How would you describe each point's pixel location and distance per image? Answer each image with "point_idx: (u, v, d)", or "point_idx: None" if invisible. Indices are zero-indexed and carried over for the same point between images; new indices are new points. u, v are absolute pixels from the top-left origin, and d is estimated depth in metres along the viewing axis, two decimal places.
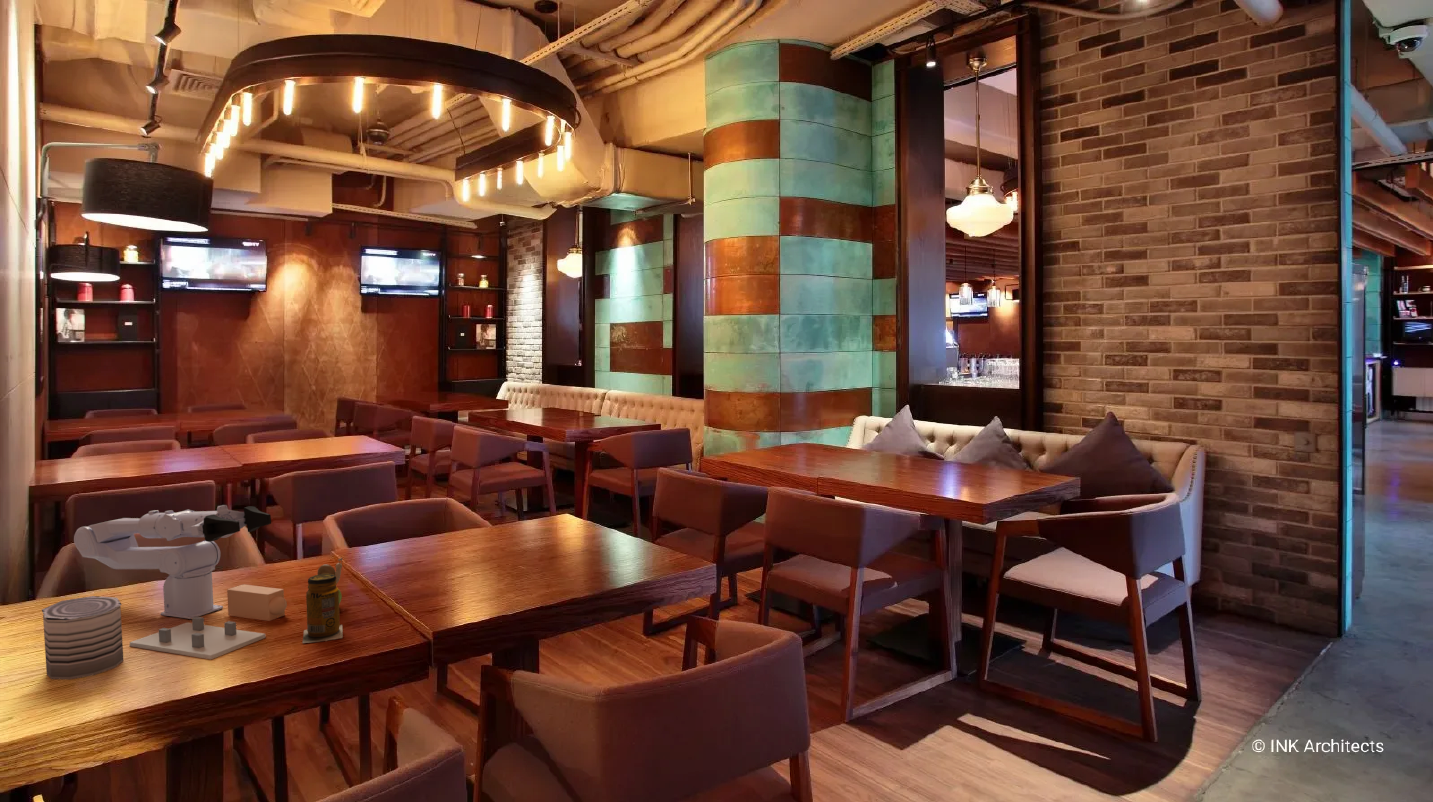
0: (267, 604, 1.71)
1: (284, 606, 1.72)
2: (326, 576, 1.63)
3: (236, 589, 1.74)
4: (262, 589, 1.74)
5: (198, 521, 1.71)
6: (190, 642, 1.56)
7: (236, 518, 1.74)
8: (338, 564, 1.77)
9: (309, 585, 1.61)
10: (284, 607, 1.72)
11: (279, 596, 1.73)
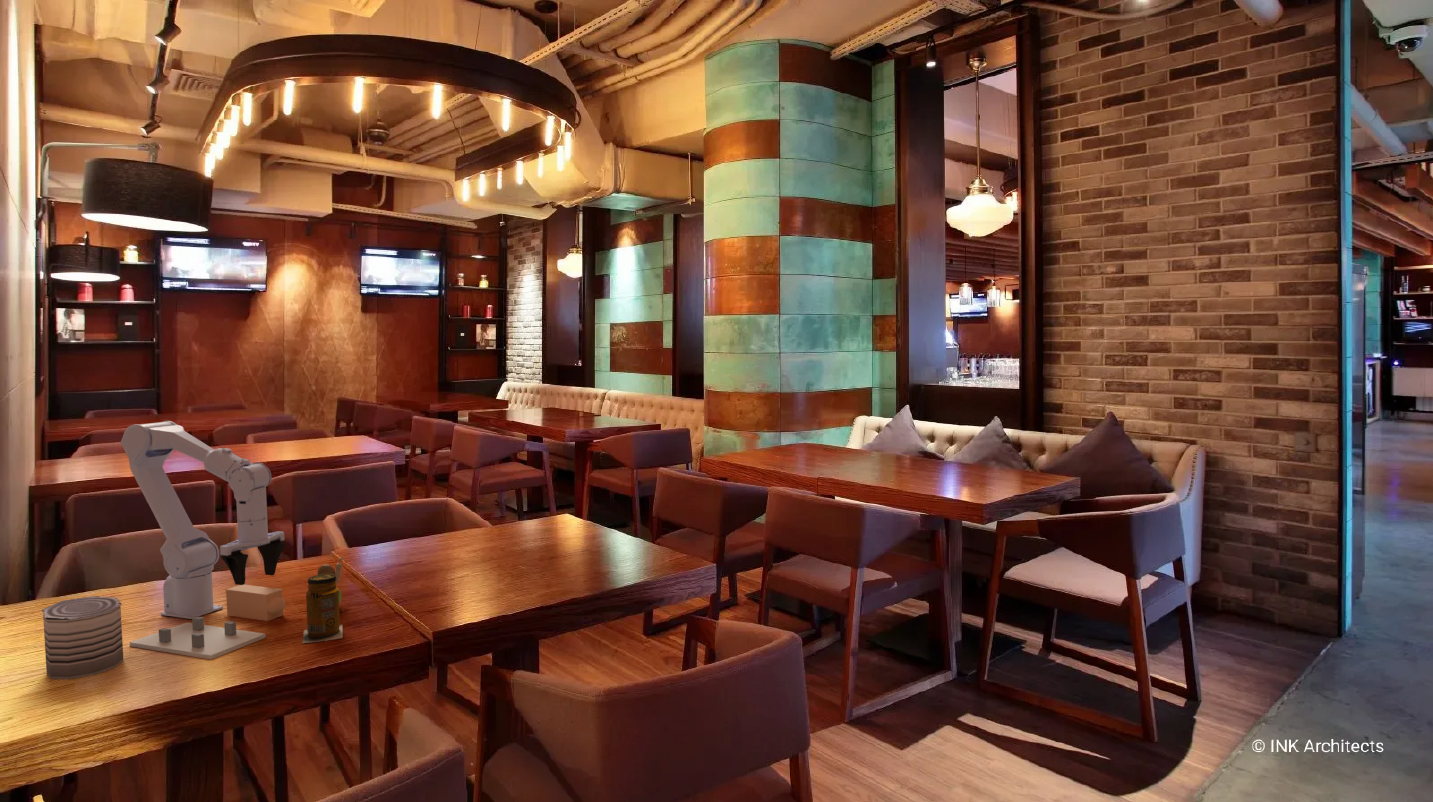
0: (265, 604, 1.71)
1: (282, 606, 1.72)
2: (326, 576, 1.63)
3: (235, 589, 1.74)
4: (261, 589, 1.74)
5: (245, 524, 1.71)
6: (190, 642, 1.56)
7: None
8: (338, 564, 1.77)
9: (309, 585, 1.61)
10: (282, 607, 1.72)
11: (277, 596, 1.73)
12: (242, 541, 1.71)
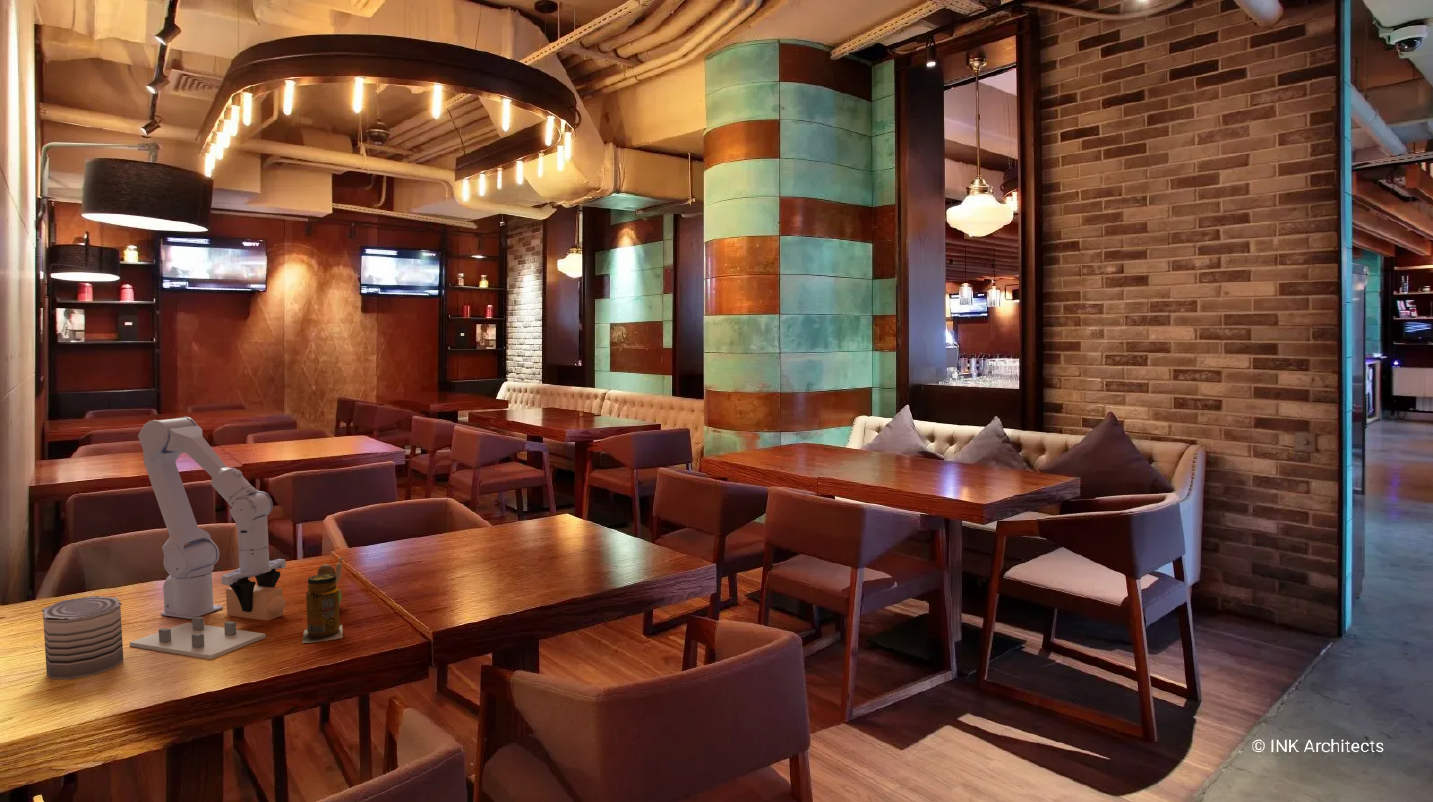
0: (265, 603, 1.71)
1: (282, 605, 1.72)
2: (326, 576, 1.63)
3: None
4: (261, 588, 1.74)
5: (247, 553, 1.71)
6: (190, 642, 1.56)
7: None
8: (338, 564, 1.77)
9: (309, 585, 1.61)
10: (282, 606, 1.73)
11: (277, 595, 1.73)
12: (243, 570, 1.71)
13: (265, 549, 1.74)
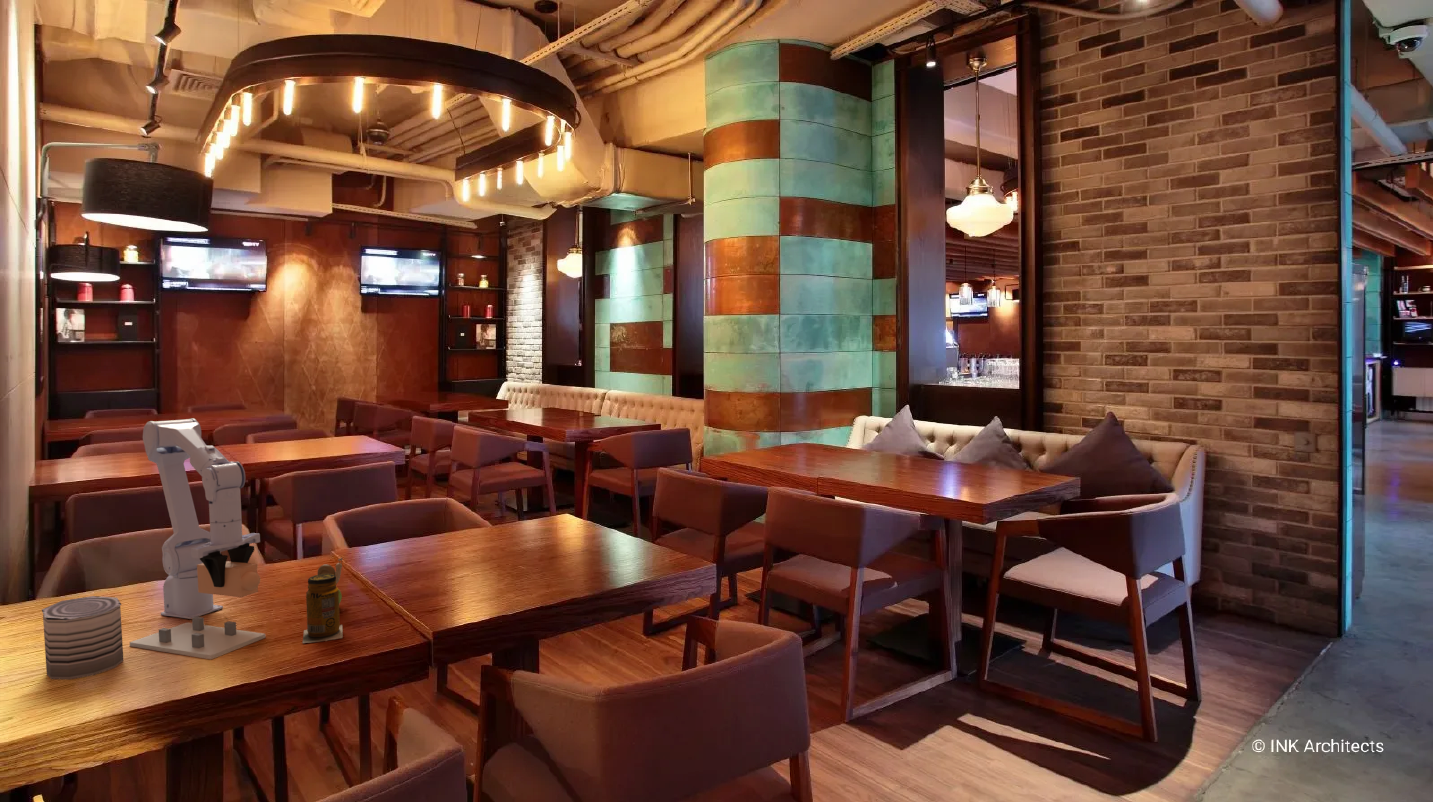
0: (239, 579, 1.63)
1: (257, 581, 1.64)
2: (326, 576, 1.63)
3: None
4: (234, 564, 1.66)
5: (218, 525, 1.63)
6: (190, 642, 1.56)
7: None
8: (338, 564, 1.77)
9: (309, 585, 1.61)
10: (257, 582, 1.65)
11: (252, 571, 1.65)
12: (215, 543, 1.63)
13: (238, 521, 1.65)
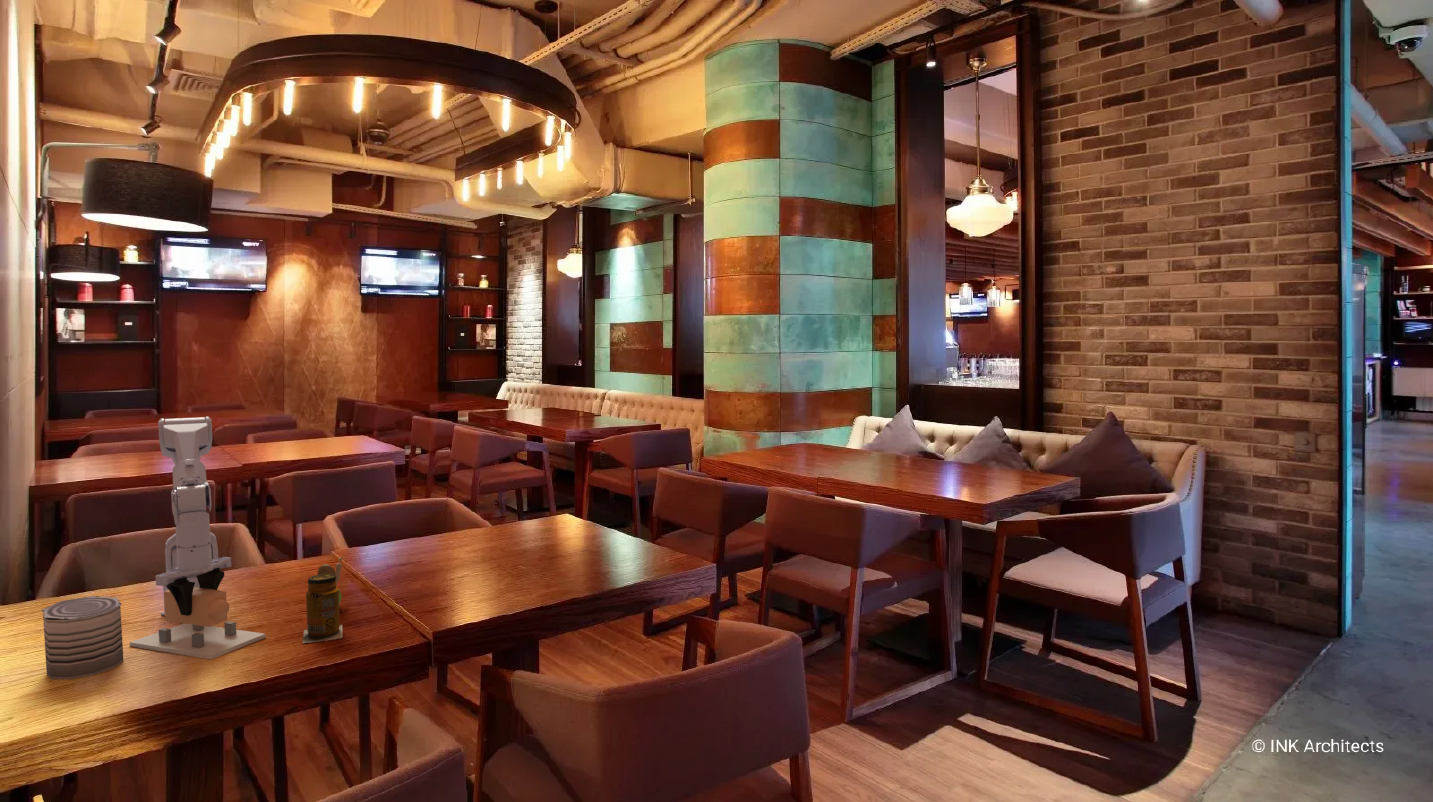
0: (206, 608, 1.55)
1: (226, 610, 1.56)
2: (326, 576, 1.63)
3: None
4: (202, 591, 1.58)
5: (185, 551, 1.55)
6: (190, 642, 1.56)
7: None
8: (338, 564, 1.77)
9: (309, 585, 1.61)
10: (226, 611, 1.56)
11: (220, 599, 1.57)
12: (181, 569, 1.55)
13: (206, 546, 1.57)
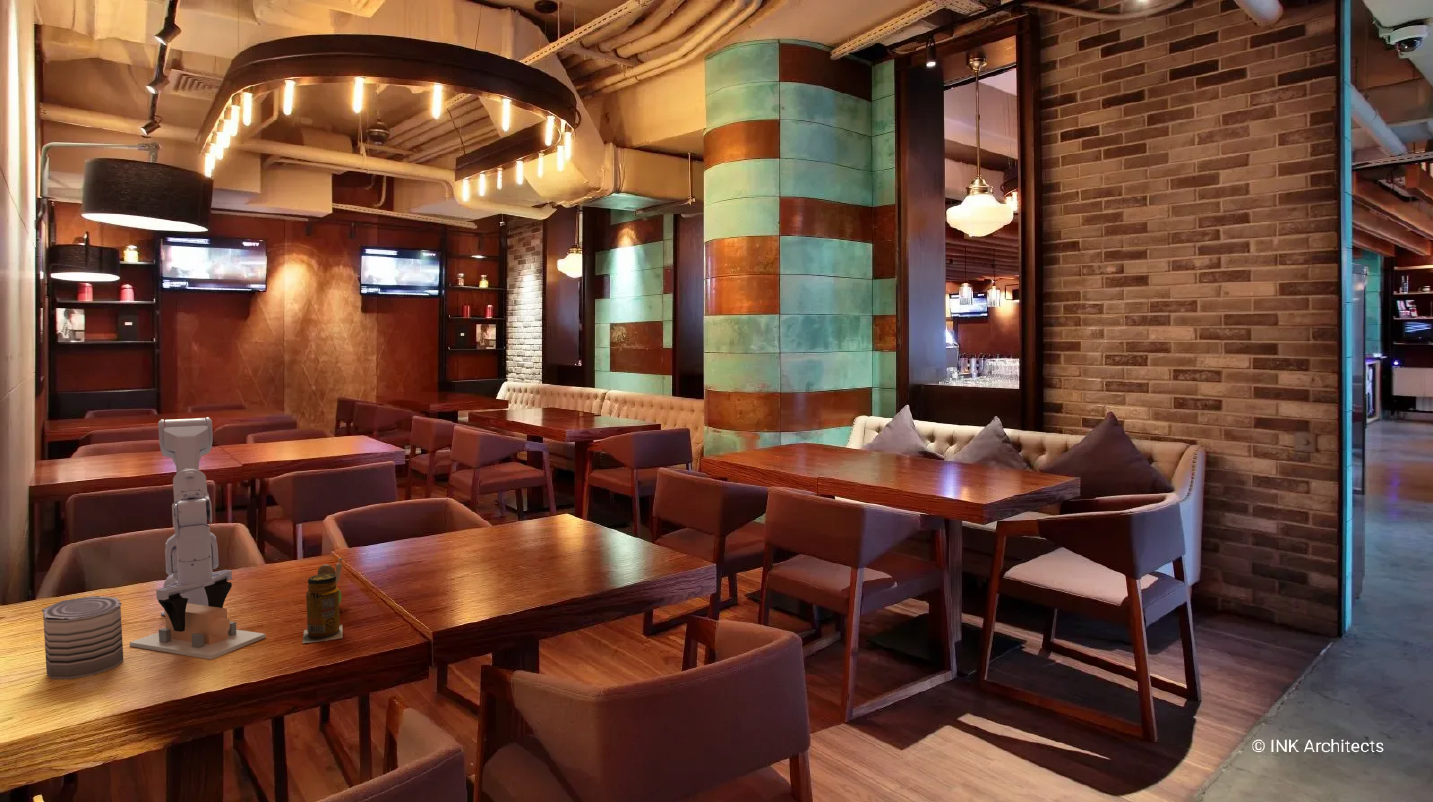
0: (207, 625, 1.55)
1: (227, 627, 1.56)
2: (326, 576, 1.63)
3: None
4: (203, 608, 1.58)
5: (185, 564, 1.55)
6: (190, 642, 1.56)
7: None
8: (338, 564, 1.77)
9: (309, 585, 1.61)
10: (227, 628, 1.56)
11: (221, 616, 1.57)
12: (182, 583, 1.55)
13: (207, 560, 1.57)
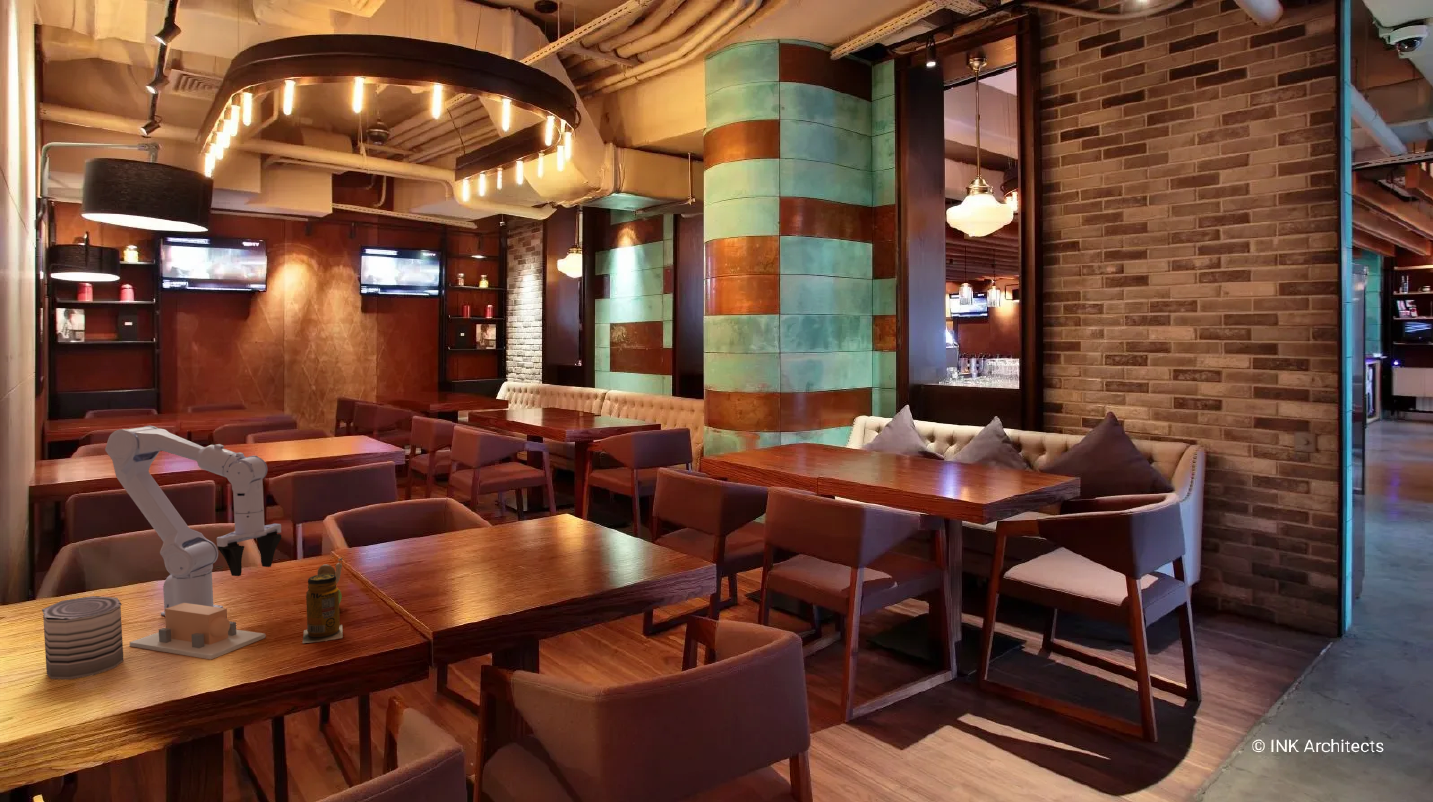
0: (207, 625, 1.55)
1: (227, 627, 1.56)
2: (326, 576, 1.63)
3: (175, 609, 1.58)
4: (203, 608, 1.58)
5: (242, 516, 1.73)
6: (190, 642, 1.56)
7: None
8: (338, 564, 1.77)
9: (309, 585, 1.61)
10: (227, 628, 1.56)
11: (221, 616, 1.57)
12: (238, 533, 1.73)
13: (260, 512, 1.75)
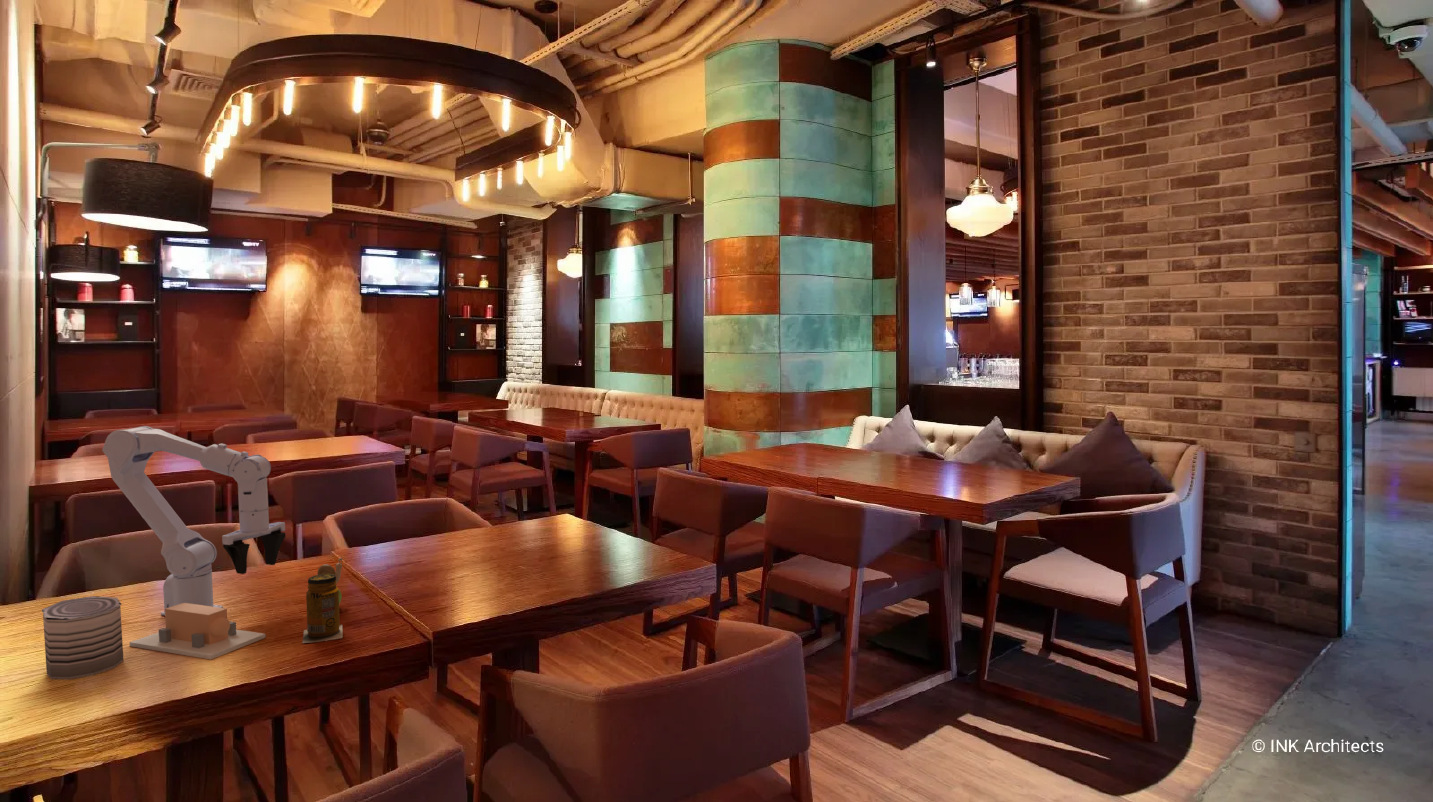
0: (207, 625, 1.55)
1: (227, 627, 1.56)
2: (326, 576, 1.63)
3: (175, 609, 1.58)
4: (203, 608, 1.58)
5: (247, 514, 1.74)
6: (190, 642, 1.56)
7: None
8: (338, 564, 1.77)
9: (309, 585, 1.61)
10: (227, 628, 1.56)
11: (221, 616, 1.57)
12: (244, 531, 1.75)
13: (265, 511, 1.77)
